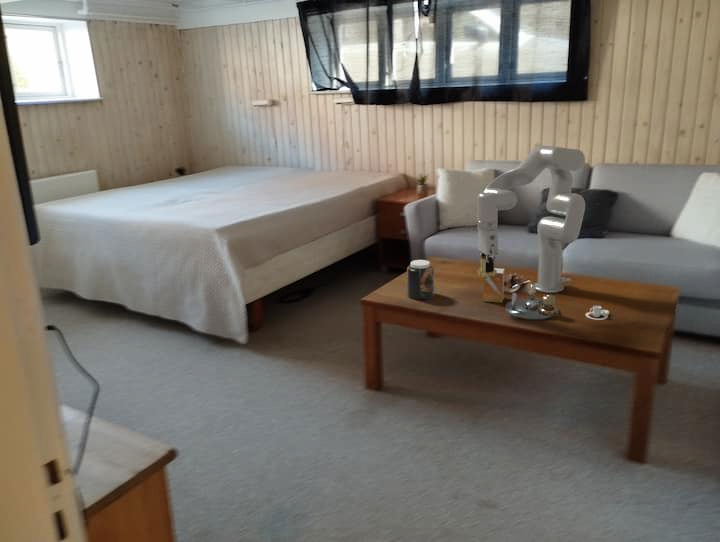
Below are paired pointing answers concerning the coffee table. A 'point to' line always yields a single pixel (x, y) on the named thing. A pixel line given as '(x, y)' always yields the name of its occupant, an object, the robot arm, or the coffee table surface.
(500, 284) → the small box
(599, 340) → the coffee table surface
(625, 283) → the coffee table surface
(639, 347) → the coffee table surface
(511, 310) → the carrier
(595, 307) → the teacup and saucer
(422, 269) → the jar
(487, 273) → the gear
